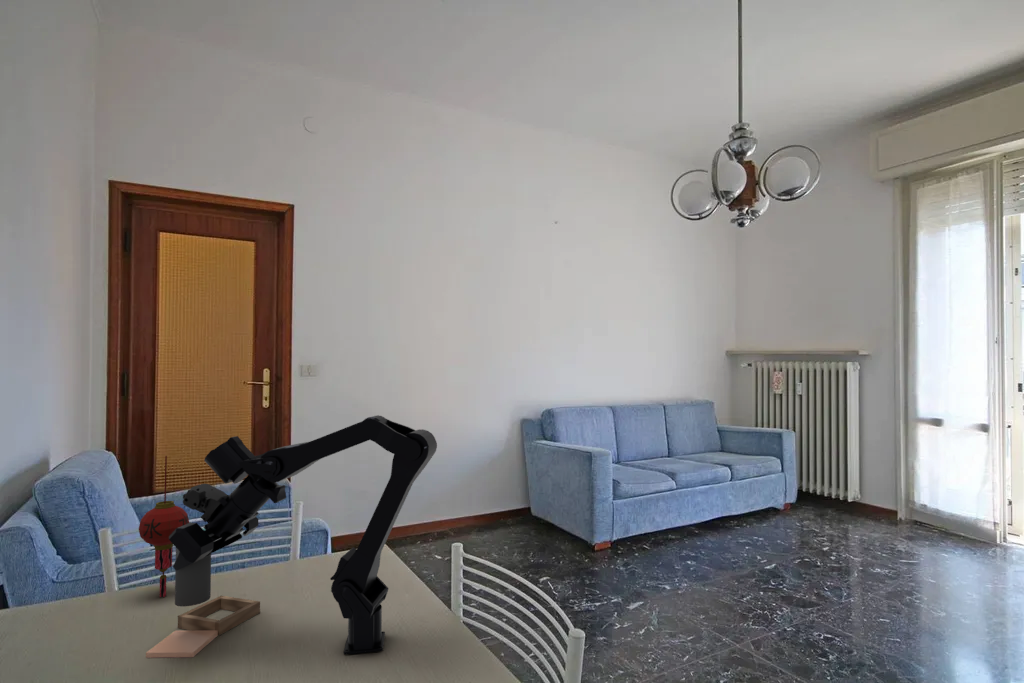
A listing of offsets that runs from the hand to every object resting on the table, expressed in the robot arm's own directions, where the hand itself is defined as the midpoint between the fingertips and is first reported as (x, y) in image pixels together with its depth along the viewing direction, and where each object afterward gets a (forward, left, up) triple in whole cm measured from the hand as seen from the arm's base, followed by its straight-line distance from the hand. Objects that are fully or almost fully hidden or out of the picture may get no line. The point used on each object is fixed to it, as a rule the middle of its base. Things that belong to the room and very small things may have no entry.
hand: (186, 562), depth 101 cm
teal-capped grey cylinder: (0, -1, -7) cm, 7 cm away
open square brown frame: (+7, -4, -13) cm, 16 cm away
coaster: (-3, -1, -13) cm, 14 cm away
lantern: (+22, +13, -14) cm, 28 cm away
